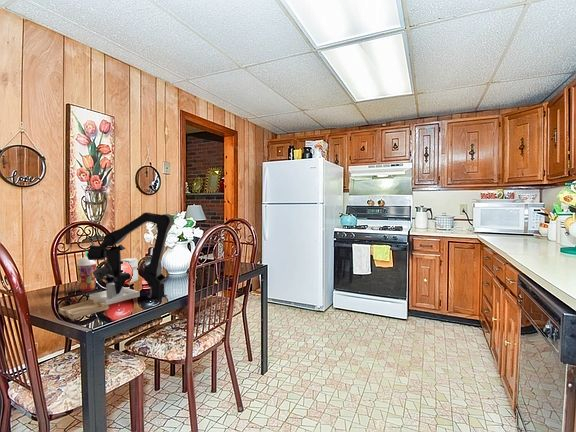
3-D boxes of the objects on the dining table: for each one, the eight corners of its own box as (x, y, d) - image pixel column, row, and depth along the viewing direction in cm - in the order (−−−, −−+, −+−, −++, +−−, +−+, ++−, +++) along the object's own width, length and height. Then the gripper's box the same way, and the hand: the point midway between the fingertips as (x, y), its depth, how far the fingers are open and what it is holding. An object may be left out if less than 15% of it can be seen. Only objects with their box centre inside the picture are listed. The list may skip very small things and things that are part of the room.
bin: (139, 297, 149) (139, 291, 149) (106, 306, 136) (105, 300, 136) (122, 291, 157) (122, 286, 157) (89, 299, 145) (89, 294, 145)
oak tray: (108, 309, 131) (108, 305, 131) (73, 319, 121) (72, 314, 120) (93, 304, 139) (93, 299, 139) (58, 312, 128) (58, 308, 128)
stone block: (123, 295, 147) (122, 283, 147) (112, 298, 143) (111, 285, 143) (117, 294, 150) (117, 281, 150) (106, 296, 146) (106, 284, 146)
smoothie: (92, 287, 166) (91, 249, 165) (100, 289, 161) (99, 250, 160) (74, 290, 159) (73, 251, 158) (82, 293, 154) (80, 253, 153)
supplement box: (129, 283, 173) (129, 260, 172) (117, 282, 175) (117, 260, 174) (138, 280, 180) (138, 258, 180) (127, 279, 182) (126, 257, 181)
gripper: (85, 260, 145) (86, 294, 145) (105, 265, 134) (106, 301, 135) (110, 256, 154) (111, 288, 155) (131, 260, 143) (132, 294, 144)
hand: (114, 293), depth 147 cm, fingers closed on stone block, 5 cm apart
